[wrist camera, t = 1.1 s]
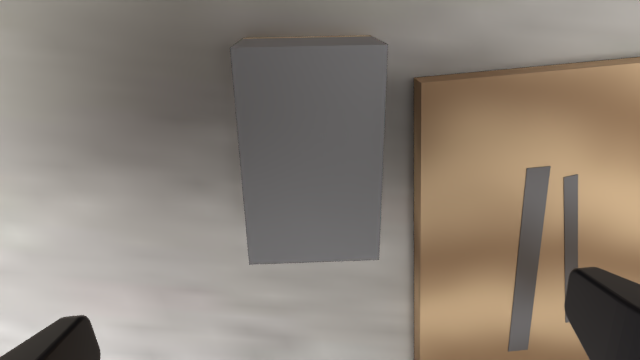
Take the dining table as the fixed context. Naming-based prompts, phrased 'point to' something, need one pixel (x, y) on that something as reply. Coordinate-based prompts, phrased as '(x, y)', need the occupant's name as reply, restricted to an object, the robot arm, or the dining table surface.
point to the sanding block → (311, 146)
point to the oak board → (520, 203)
